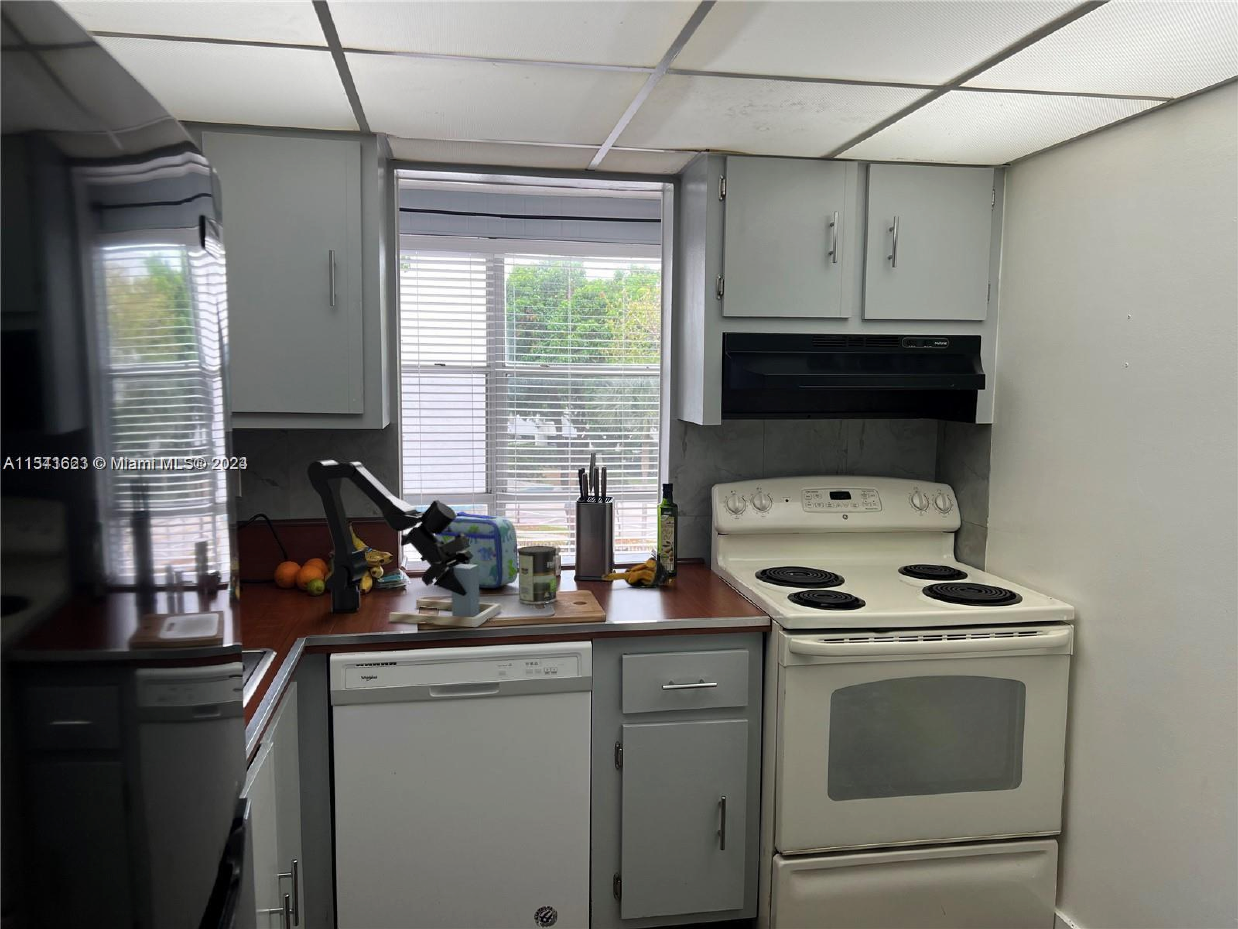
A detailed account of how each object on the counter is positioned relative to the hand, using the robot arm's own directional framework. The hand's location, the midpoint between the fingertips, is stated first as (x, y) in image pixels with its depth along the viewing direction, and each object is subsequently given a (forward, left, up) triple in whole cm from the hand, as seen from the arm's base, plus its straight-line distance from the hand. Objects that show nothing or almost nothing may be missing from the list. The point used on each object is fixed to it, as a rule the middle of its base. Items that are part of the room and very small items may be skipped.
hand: (470, 592), depth 217 cm
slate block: (-1, +1, -7) cm, 7 cm away
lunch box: (+4, +39, -7) cm, 39 cm away
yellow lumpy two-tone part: (+49, +24, -7) cm, 55 cm away
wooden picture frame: (-6, +3, -7) cm, 9 cm away
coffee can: (+19, +15, -7) cm, 25 cm away
